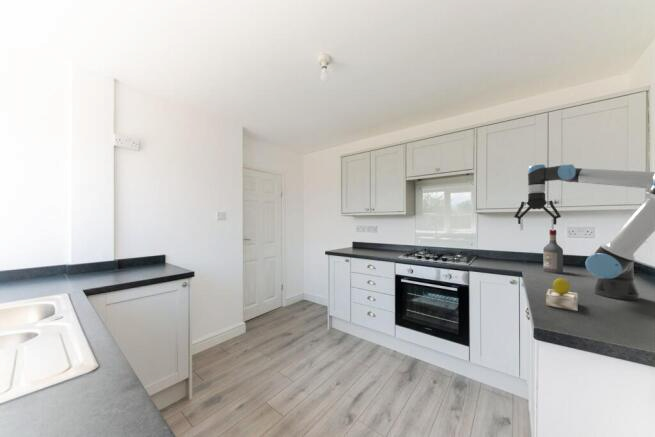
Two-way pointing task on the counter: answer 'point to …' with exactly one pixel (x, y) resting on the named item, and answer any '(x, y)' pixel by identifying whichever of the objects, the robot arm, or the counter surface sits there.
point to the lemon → (561, 286)
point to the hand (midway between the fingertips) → (536, 230)
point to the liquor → (553, 255)
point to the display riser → (562, 300)
